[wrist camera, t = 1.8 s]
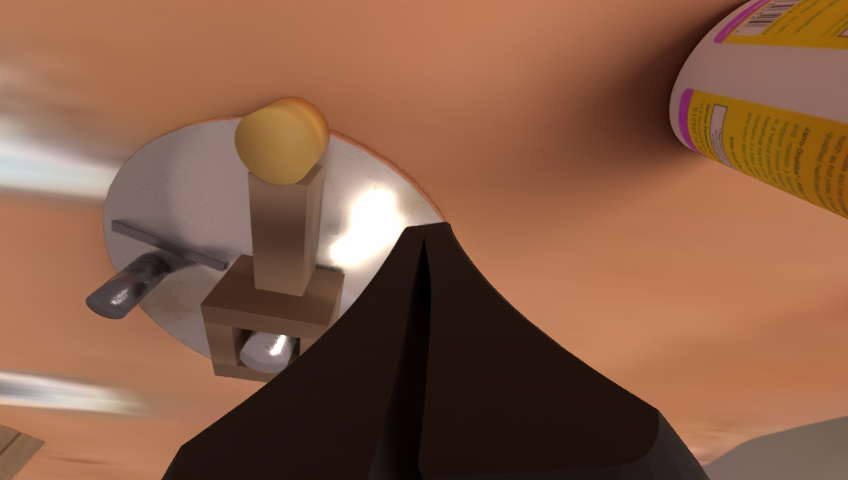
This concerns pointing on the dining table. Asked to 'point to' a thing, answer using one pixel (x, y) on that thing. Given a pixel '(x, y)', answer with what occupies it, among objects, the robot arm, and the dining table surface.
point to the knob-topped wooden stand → (276, 242)
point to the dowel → (128, 286)
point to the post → (267, 351)
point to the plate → (247, 217)
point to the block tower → (15, 451)
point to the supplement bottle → (772, 97)
